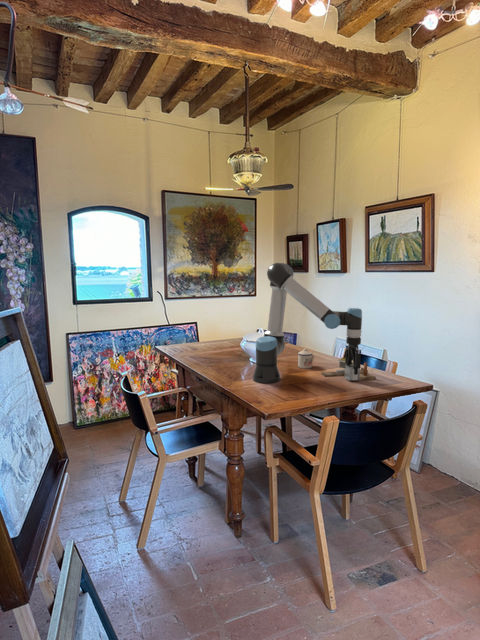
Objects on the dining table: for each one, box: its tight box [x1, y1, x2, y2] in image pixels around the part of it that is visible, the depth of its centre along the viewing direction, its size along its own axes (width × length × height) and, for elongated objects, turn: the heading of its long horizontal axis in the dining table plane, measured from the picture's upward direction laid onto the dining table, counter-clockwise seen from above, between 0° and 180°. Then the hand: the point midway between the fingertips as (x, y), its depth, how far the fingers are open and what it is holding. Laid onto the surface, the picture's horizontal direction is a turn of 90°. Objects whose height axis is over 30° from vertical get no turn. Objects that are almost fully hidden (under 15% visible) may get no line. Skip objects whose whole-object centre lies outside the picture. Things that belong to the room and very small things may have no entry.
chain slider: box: [335, 359, 353, 372], centre depth 226 cm, size 13×4×6 cm, turn 100°
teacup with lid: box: [297, 348, 315, 369], centre depth 244 cm, size 12×9×12 cm
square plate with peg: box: [360, 362, 377, 381], centre depth 217 cm, size 8×8×8 cm
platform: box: [337, 356, 347, 369], centre depth 240 cm, size 12×18×7 cm, turn 44°
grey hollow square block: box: [344, 365, 361, 382], centre depth 213 cm, size 6×6×7 cm
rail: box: [320, 367, 369, 378], centre depth 226 cm, size 26×6×2 cm, turn 100°
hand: (352, 378), depth 213 cm, fingers closed on grey hollow square block, 6 cm apart
